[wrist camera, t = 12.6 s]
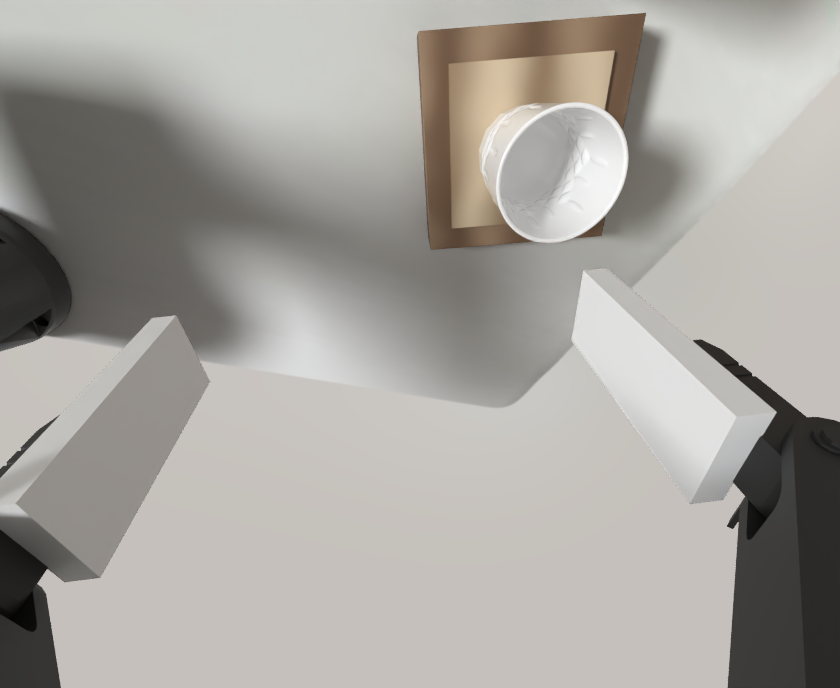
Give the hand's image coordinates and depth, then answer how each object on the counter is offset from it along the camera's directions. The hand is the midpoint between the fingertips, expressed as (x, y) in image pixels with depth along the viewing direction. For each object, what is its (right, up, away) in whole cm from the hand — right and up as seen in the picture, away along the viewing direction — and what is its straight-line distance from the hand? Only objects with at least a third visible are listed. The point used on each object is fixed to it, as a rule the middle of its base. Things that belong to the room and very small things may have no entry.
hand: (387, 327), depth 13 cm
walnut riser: (+9, +18, +22) cm, 30 cm away
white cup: (+9, +15, +19) cm, 26 cm away
